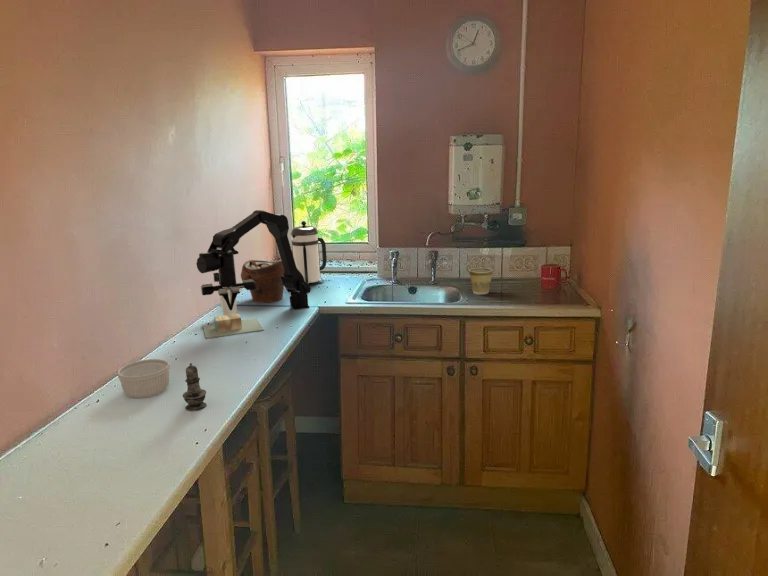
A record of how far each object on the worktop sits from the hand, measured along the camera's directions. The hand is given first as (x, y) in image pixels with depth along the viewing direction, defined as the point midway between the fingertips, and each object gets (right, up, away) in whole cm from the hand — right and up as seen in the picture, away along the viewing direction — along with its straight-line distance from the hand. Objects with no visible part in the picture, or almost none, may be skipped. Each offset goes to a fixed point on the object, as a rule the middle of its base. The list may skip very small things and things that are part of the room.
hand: (230, 310), depth 216 cm
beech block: (+3, -4, +2) cm, 5 cm away
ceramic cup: (+98, +6, +40) cm, 106 cm away
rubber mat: (0, -7, +2) cm, 7 cm away
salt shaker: (+7, -23, -63) cm, 68 cm away
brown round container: (+5, +3, +42) cm, 42 cm away
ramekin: (-10, -21, -52) cm, 57 cm away
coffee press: (+20, +10, +69) cm, 73 cm away
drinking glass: (-5, -3, +18) cm, 18 cm away
